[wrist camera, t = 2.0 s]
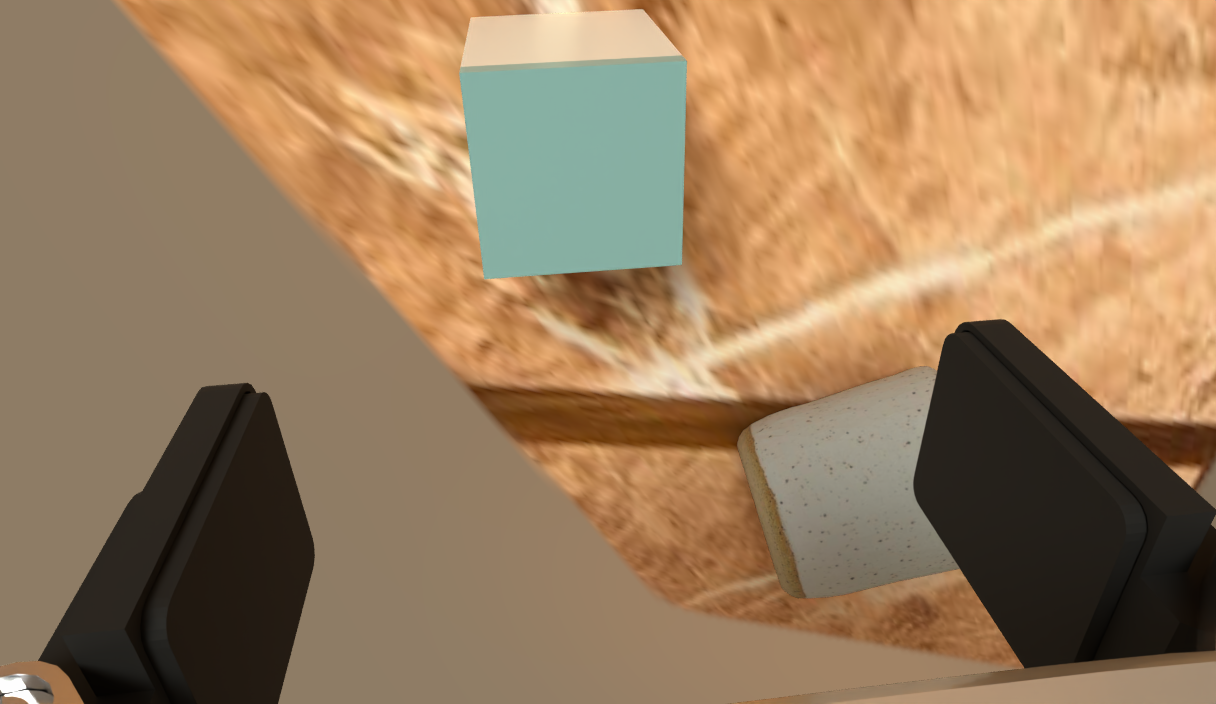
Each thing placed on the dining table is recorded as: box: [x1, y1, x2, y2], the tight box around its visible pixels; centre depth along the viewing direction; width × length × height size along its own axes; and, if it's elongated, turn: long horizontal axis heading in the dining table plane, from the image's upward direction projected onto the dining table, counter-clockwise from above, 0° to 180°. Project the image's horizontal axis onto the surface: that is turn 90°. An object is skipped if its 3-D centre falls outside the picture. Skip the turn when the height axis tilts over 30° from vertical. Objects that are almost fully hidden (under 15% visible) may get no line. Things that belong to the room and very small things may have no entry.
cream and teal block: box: [459, 9, 687, 279], centre depth 23 cm, size 5×5×7 cm
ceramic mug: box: [737, 366, 960, 598], centre depth 32 cm, size 11×8×8 cm
